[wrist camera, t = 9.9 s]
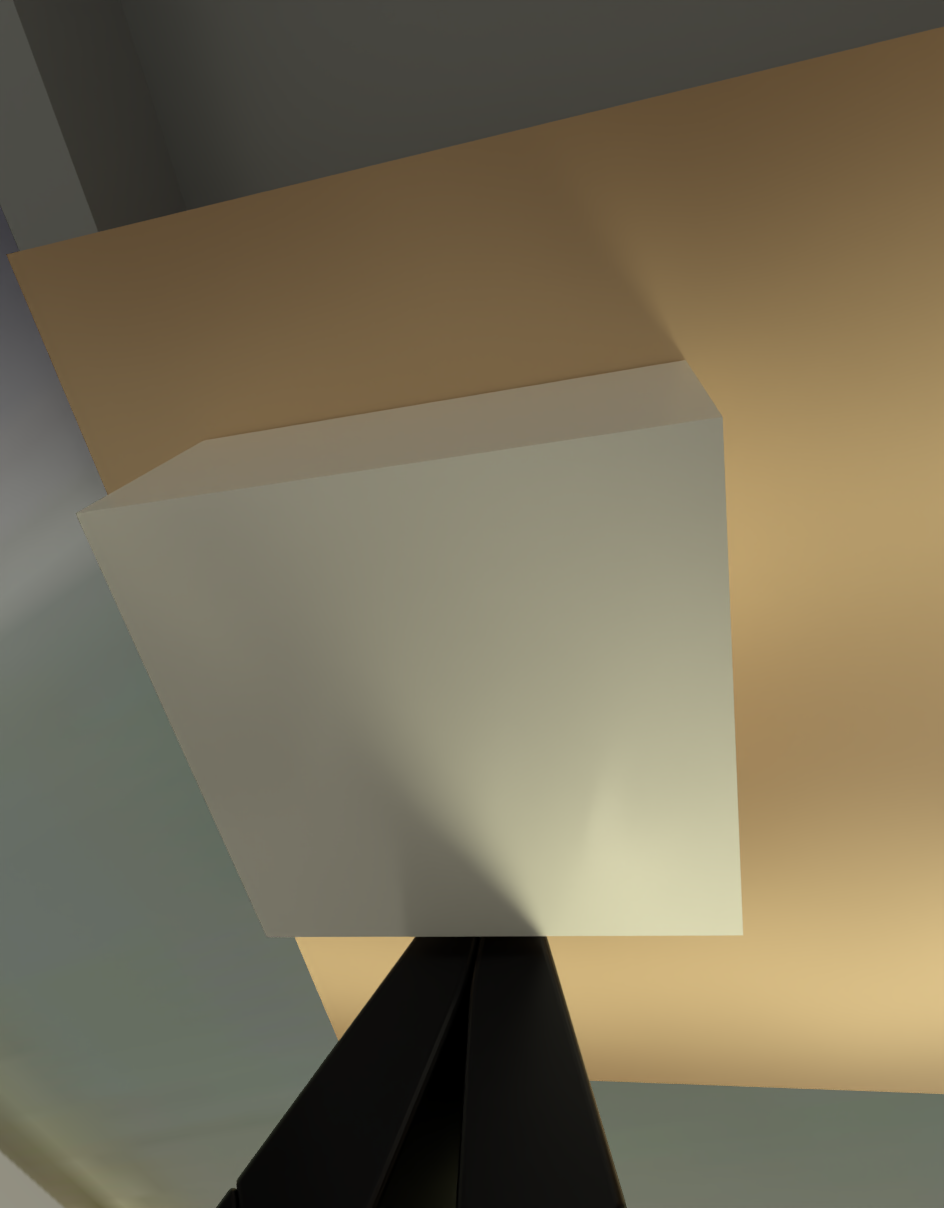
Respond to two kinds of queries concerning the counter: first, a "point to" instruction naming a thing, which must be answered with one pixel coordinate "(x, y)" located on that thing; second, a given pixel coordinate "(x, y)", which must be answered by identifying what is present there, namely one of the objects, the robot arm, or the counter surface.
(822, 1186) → the counter surface
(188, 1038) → the counter surface
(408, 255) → the wooden flat block
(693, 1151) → the counter surface
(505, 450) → the off-white tile
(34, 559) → the counter surface
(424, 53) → the box
